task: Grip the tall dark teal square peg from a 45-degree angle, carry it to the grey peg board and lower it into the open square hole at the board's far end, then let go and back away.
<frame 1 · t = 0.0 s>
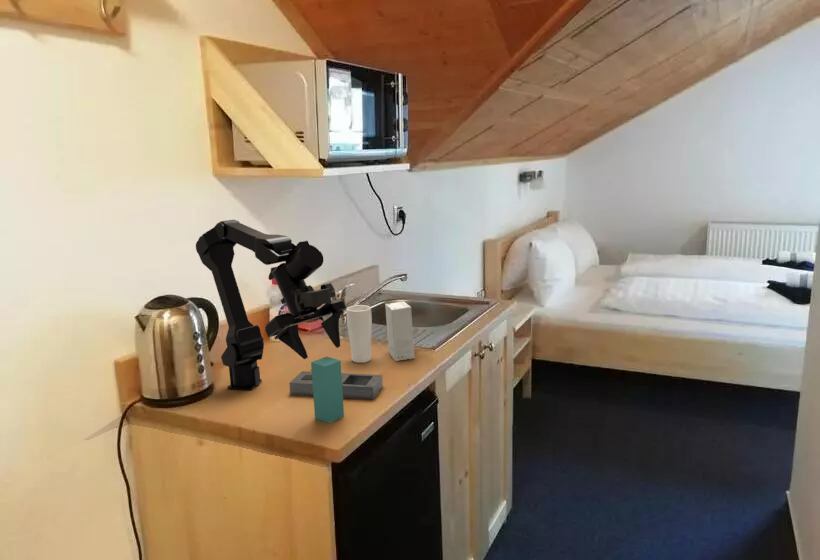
hand: (322, 352, 138), 15 cm above the worktop, tool tilted 35°, fingers open, 9 cm apart
drinking glass: (361, 361, 177), on the worktop
grey peg board: (336, 390, 156), on the worktop
teal peg: (329, 417, 141), on the worktop
skincare box: (400, 356, 180), on the worktop
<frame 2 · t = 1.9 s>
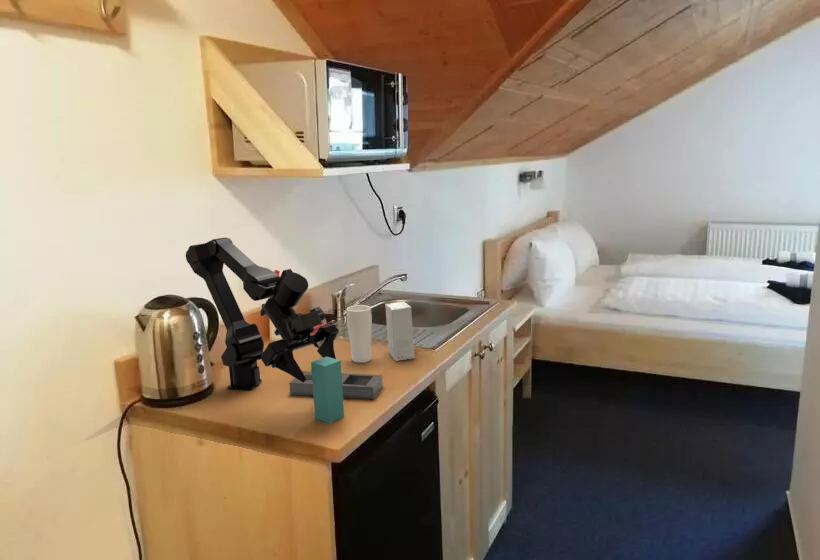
hand: (321, 374, 140), 9 cm above the worktop, tool tilted 45°, fingers open, 9 cm apart
nothing on the worktop moved.
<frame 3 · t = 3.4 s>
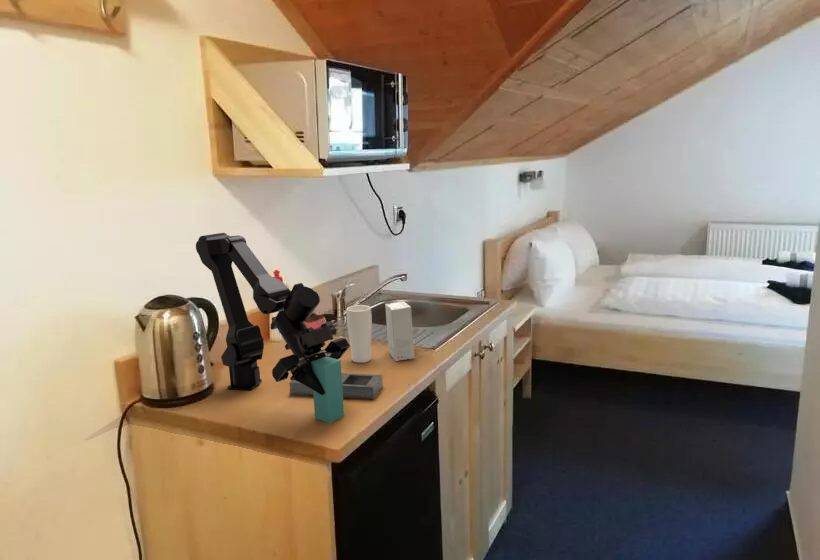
hand: (332, 390, 139), 7 cm above the worktop, tool tilted 45°, fingers closed on teal peg, 4 cm apart
teal peg: (329, 417, 141), on the worktop, touching gripper
everything else where it was.
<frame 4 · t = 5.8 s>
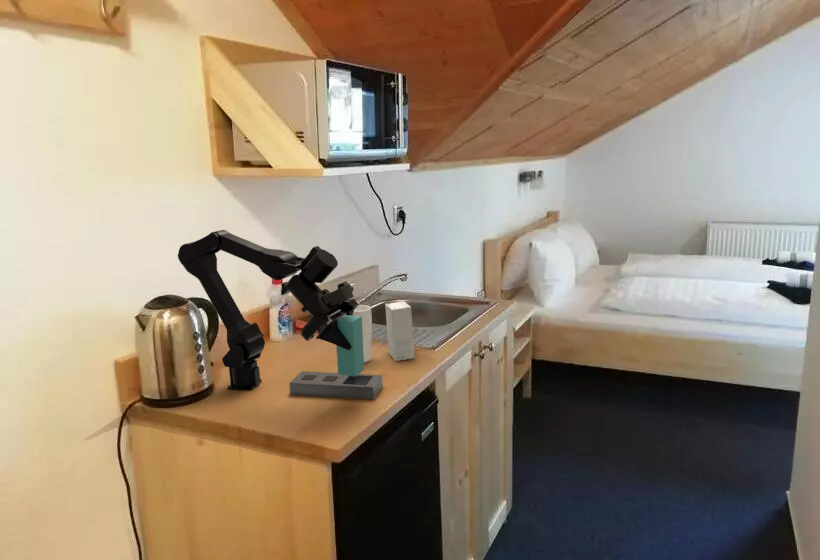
hand: (355, 345, 147), 13 cm above the worktop, tool tilted 45°, fingers closed on teal peg, 4 cm apart
teal peg: (351, 372, 149), point 7 cm above the worktop, touching gripper
everything else where it was.
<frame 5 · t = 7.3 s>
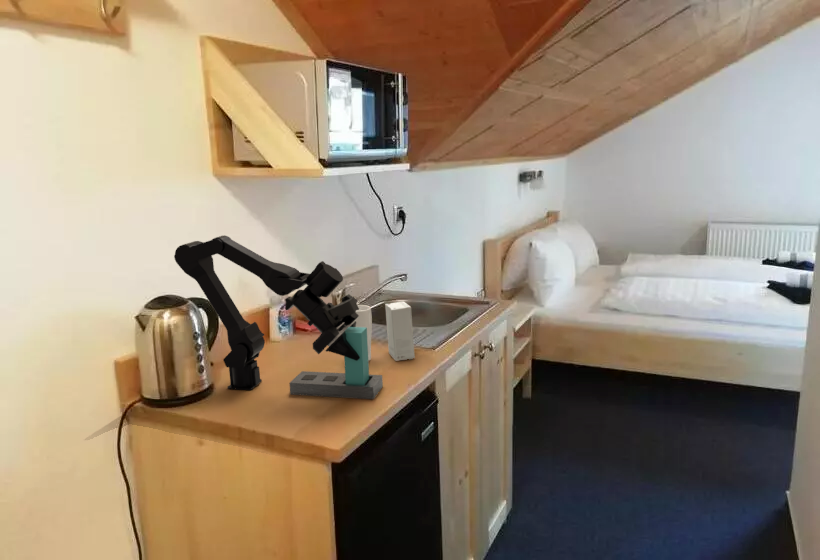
hand: (361, 355, 153), 9 cm above the worktop, tool tilted 45°, fingers closed on teal peg, 4 cm apart
teal peg: (357, 381, 154), point 3 cm above the worktop, touching gripper
everything else where it was.
when the fingers open (8 cm above the worktop, at t = 8.4 s): teal peg drops 1 cm, resting in grey peg board.
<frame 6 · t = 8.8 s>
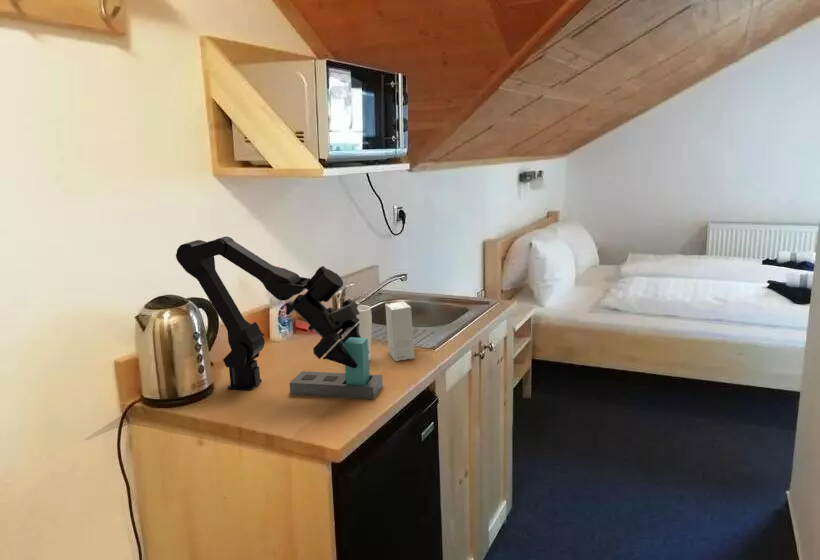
hand: (362, 360, 153), 8 cm above the worktop, tool tilted 45°, fingers open, 9 cm apart
teal peg: (358, 391, 155), resting in grey peg board
everything else where it was.
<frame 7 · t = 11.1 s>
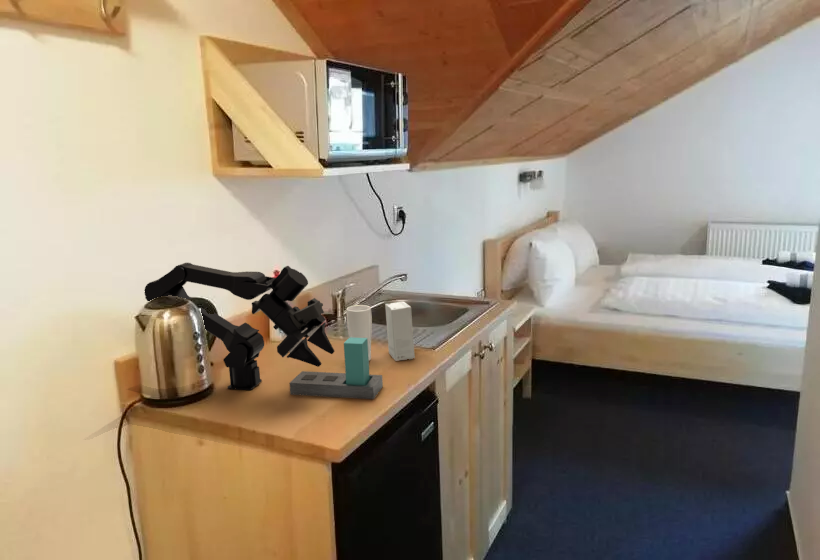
hand: (327, 358, 155), 8 cm above the worktop, tool tilted 45°, fingers open, 9 cm apart
nothing on the worktop moved.
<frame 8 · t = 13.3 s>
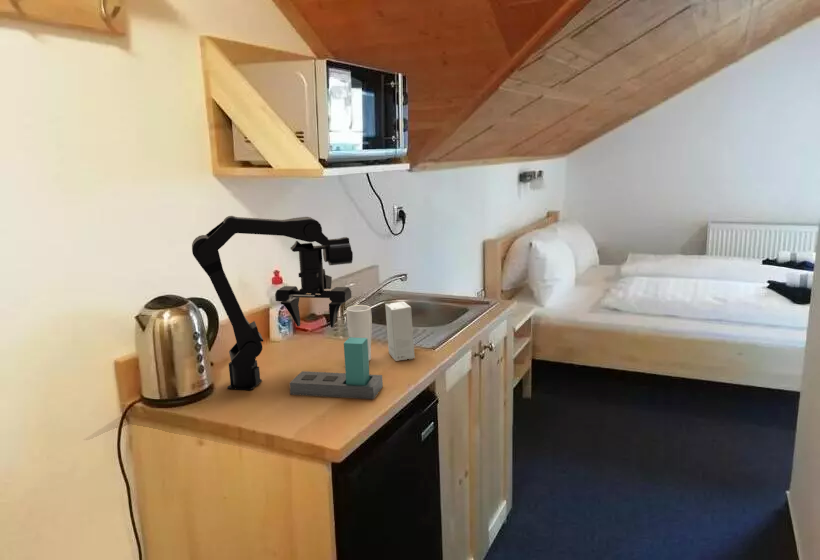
hand: (315, 326, 165), 13 cm above the worktop, tool pointing down, fingers open, 9 cm apart
nothing on the worktop moved.
at the end: teal peg 0.0 cm from the target spot on the grey peg board, point 0.0 cm above the grey peg board's base; teal peg tilted 0°; the gripper is holding nothing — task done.
